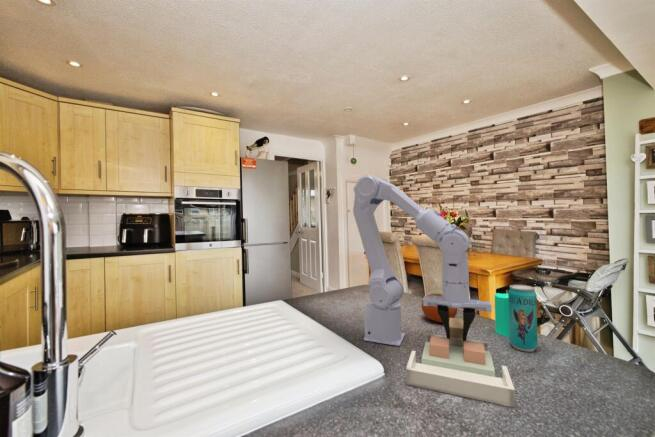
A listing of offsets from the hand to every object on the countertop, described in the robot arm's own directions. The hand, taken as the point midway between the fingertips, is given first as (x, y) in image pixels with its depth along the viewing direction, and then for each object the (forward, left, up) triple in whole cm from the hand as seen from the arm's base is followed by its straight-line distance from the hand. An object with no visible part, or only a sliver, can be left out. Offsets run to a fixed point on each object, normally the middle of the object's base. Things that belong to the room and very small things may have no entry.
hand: (456, 338), depth 68 cm
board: (0, -4, -4) cm, 5 cm away
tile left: (-4, -4, -2) cm, 6 cm away
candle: (+13, +19, -4) cm, 23 cm away
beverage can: (+15, +10, -4) cm, 18 cm away
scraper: (0, +6, -4) cm, 7 cm away
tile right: (+3, -4, -2) cm, 6 cm away
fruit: (-5, +23, -4) cm, 24 cm away
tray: (0, -13, -4) cm, 13 cm away
